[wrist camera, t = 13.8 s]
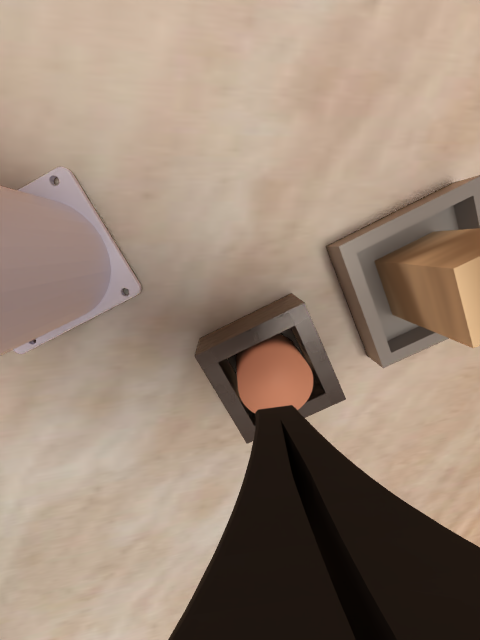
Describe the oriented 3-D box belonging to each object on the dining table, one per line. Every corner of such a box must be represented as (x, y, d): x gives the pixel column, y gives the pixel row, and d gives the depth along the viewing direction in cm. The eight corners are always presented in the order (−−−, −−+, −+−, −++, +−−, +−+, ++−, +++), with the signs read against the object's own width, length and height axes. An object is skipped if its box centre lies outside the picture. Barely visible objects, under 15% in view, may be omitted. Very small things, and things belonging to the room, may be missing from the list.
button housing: (243, 415, 20) (247, 443, 17) (199, 338, 18) (194, 355, 15) (328, 376, 19) (346, 399, 16) (291, 293, 17) (304, 302, 15)
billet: (392, 314, 18) (473, 348, 12) (374, 261, 17) (453, 268, 11) (448, 288, 17) (560, 309, 12) (433, 231, 16) (548, 223, 10)
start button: (252, 400, 19) (257, 428, 16) (224, 350, 18) (224, 370, 15) (308, 374, 18) (324, 398, 15) (284, 321, 17) (295, 336, 14)
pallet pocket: (367, 355, 19) (383, 368, 17) (325, 246, 17) (338, 246, 15) (480, 303, 18) (510, 310, 16) (453, 182, 16) (484, 173, 14)
